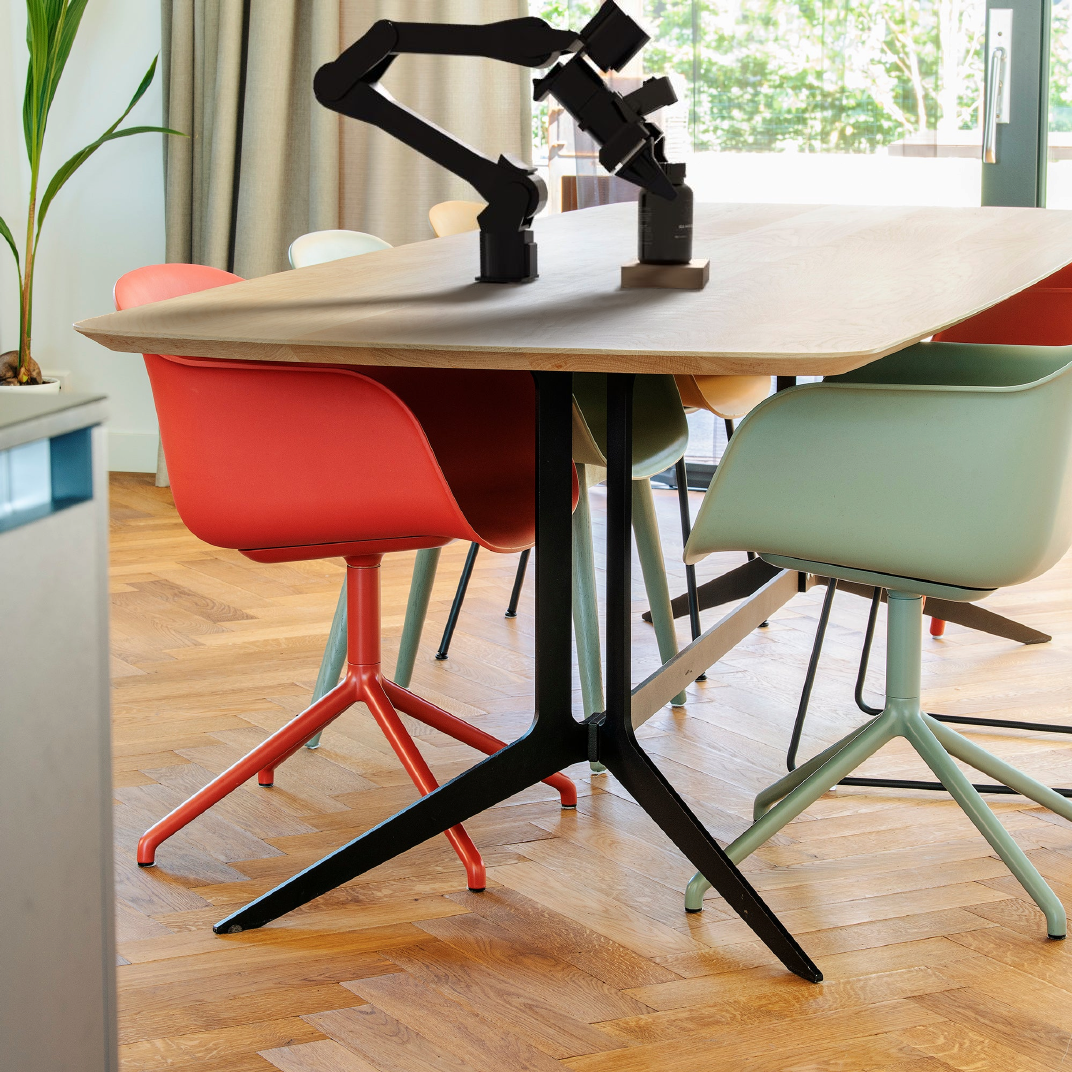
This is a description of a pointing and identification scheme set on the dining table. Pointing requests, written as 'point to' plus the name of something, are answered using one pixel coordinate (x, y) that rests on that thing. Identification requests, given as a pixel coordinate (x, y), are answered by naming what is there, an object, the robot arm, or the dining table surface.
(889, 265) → the dining table surface
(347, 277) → the dining table surface
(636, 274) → the tan flat square block
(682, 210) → the supplement bottle
